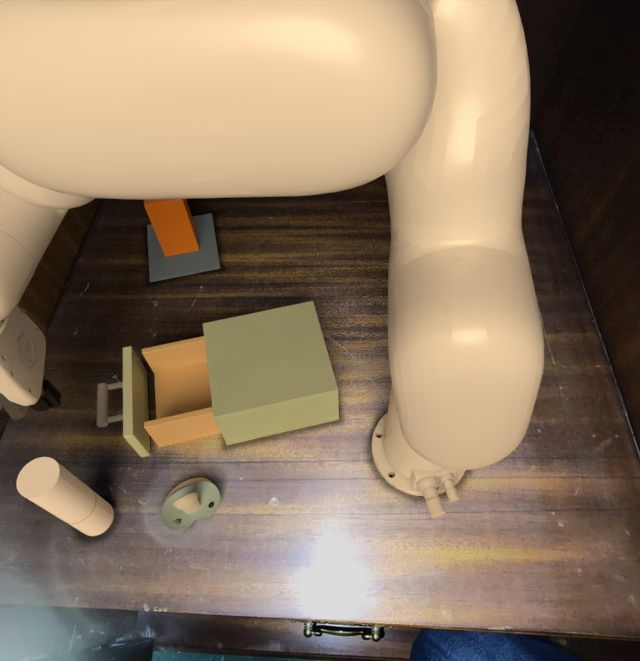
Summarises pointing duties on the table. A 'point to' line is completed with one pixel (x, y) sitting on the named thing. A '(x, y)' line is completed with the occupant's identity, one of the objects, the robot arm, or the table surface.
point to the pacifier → (190, 503)
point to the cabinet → (269, 373)
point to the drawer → (163, 396)
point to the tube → (64, 496)
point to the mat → (187, 261)
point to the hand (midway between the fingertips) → (48, 403)
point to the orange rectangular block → (173, 225)
